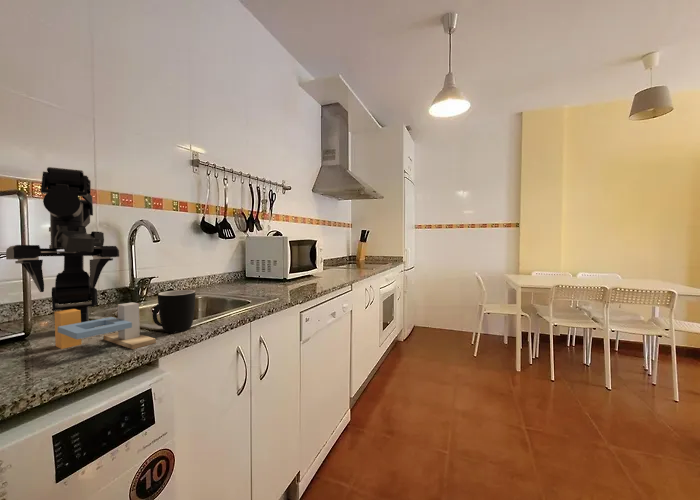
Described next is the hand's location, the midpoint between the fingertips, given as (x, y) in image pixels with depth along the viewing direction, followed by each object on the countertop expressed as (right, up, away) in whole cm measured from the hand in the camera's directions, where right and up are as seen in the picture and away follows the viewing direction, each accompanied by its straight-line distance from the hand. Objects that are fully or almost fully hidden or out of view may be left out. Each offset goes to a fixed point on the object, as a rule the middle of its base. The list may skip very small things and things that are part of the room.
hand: (68, 289), depth 72 cm
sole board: (+12, -13, +3) cm, 18 cm away
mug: (+17, -13, +12) cm, 25 cm away
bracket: (+9, -12, -1) cm, 15 cm away
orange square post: (-1, -13, +1) cm, 13 cm away
